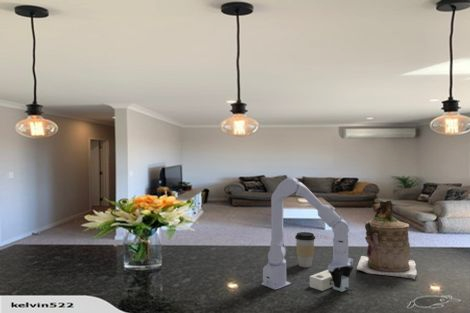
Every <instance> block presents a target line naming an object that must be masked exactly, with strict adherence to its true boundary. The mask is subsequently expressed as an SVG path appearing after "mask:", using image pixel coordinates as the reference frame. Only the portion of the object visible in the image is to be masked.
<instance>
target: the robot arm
mask: <svg viewBox="0 0 470 313" xmlns="http://www.w3.org/2000/svg"><path fill="white" fill-rule="evenodd" d="M293 194H295V196H297V197H302V198H304V199H305V201H307V202H308V203H309V204H310V205H311V206H312V207H313V208H314V209H315V210H317V216H318V217H319V218H320V219H321V220H322V221H324V223H325V224H326V225H327V226H328V227H330V228H332V231H333V239H332V254H333V255H332V261H331V263H330V264H328V265H327V270H328V271H329V272H330V274H331V276H332V279H333V282H334V286H335V287H337V288H340V285H341V277H342V275H343V276H346V277H349V278H350V276H351V274H352V271H353V269H354V266H353V264H354V259H353V258H350V257H349V231H350V229H349V225H348V222H347V221H346V220H345V219H344V218H343V216H342V215H338V213H337V212H336V211H335V210H334V207H333V206H330V204H329V205H328V204H323V202H321V201H320V200H319V199H318V197H317V196H316V195H315V194H314V193H313V192H312V191H311V190H310V189H309V188H308V186H306V185H305V184H304V183H302V182H301V181H299V180H298V178H296V177H294V176H289V177H287V178H284V180H282V181H281V182H280V183H279V184H278V185H277V187H276V188H275V189H274V191H273V192H272V194H271V208H270V209H271V212H270V213H271V214H270V216H271V222H270V223H271V226H270V227H271V230H270V231H271V233H270V234H271V237H270V238H271V239H270V244H269V251H268V253H267V259H268V263H267V264H266V265H265V266H263V268H262V283H261V285H262V286H264V287H267V288H270V289H272V290H278V289H279V290H280V289H282V288H284V287H287V286H290V285H291V284H292V282H289V281H287V260H286V259H285V256H286V255H287V248H286V247H285V240H284V200H286V199H287V198H288V197H289V196H291V195H293Z"/></svg>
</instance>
